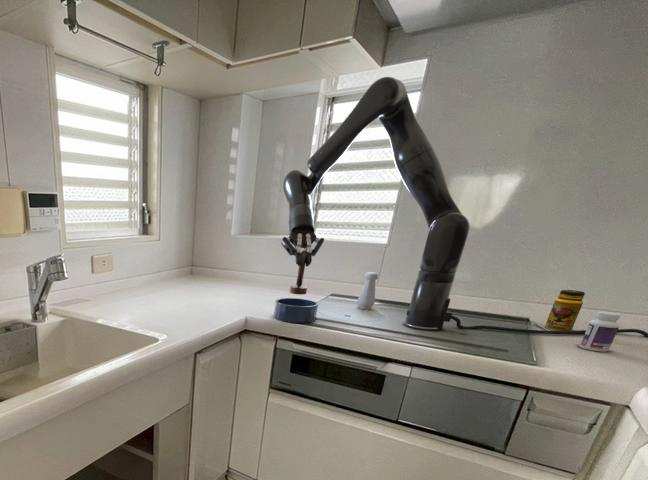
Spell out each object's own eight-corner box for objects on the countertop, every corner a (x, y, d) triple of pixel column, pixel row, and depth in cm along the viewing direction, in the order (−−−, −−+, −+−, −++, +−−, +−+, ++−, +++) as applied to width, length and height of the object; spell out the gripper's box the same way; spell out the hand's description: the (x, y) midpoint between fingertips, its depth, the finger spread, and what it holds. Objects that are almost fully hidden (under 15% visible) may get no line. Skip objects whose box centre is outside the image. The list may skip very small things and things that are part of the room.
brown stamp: (306, 292, 132) (313, 250, 127) (306, 295, 128) (313, 251, 123) (289, 290, 134) (296, 249, 129) (289, 293, 130) (295, 250, 124)
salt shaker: (375, 310, 147) (383, 274, 142) (358, 309, 148) (366, 273, 143) (370, 306, 152) (378, 271, 147) (354, 305, 153) (361, 271, 148)
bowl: (315, 315, 138) (317, 300, 136) (315, 325, 126) (318, 308, 124) (275, 312, 142) (277, 296, 140) (272, 321, 131) (274, 304, 128)
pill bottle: (613, 351, 105) (630, 314, 102) (599, 353, 104) (616, 316, 100) (587, 345, 110) (602, 310, 106) (574, 346, 109) (589, 311, 105)
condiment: (548, 331, 122) (564, 292, 118) (535, 324, 130) (550, 287, 125) (579, 334, 120) (596, 294, 115) (564, 327, 127) (580, 289, 123)
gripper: (282, 212, 129) (284, 256, 123) (326, 213, 128) (331, 257, 121) (277, 229, 136) (278, 271, 130) (319, 230, 135) (322, 272, 128)
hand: (304, 264), depth 125 cm, fingers closed on brown stamp
